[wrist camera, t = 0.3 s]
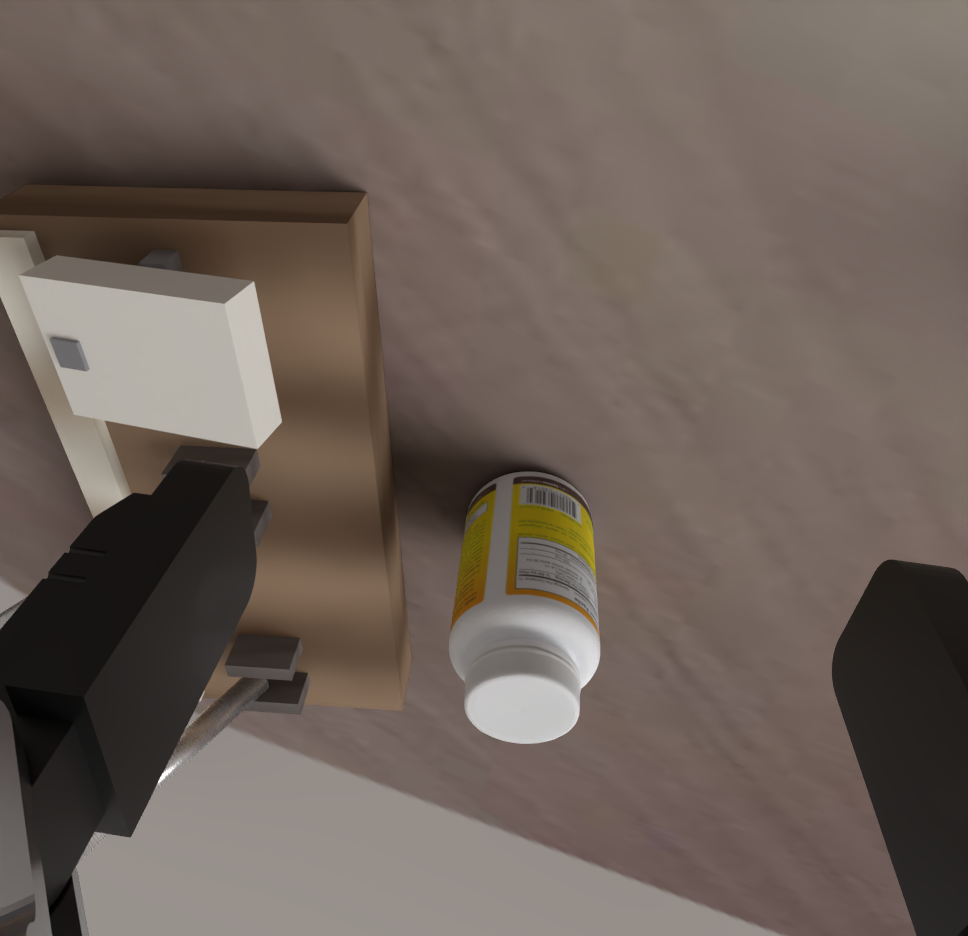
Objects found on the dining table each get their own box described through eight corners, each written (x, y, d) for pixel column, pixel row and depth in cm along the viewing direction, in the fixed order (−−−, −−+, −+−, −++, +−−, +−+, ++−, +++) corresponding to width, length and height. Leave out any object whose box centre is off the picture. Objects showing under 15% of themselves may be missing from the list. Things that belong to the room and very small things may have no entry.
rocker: (56, 255, 24) (14, 277, 23) (254, 281, 22) (221, 306, 21) (105, 390, 27) (70, 417, 26) (282, 421, 25) (255, 451, 24)
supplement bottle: (489, 567, 36) (468, 765, 28) (451, 478, 33) (414, 672, 25) (605, 547, 35) (618, 749, 27) (576, 452, 32) (582, 648, 23)
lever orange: (228, 638, 36) (-72, 885, 27) (279, 672, 34) (-21, 946, 25) (242, 683, 38) (-31, 926, 29) (291, 717, 36) (17, 984, 27)
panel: (26, 184, 26) (-63, 234, 23) (366, 192, 26) (333, 245, 22) (195, 648, 42) (158, 725, 38) (411, 662, 41) (396, 742, 37)
